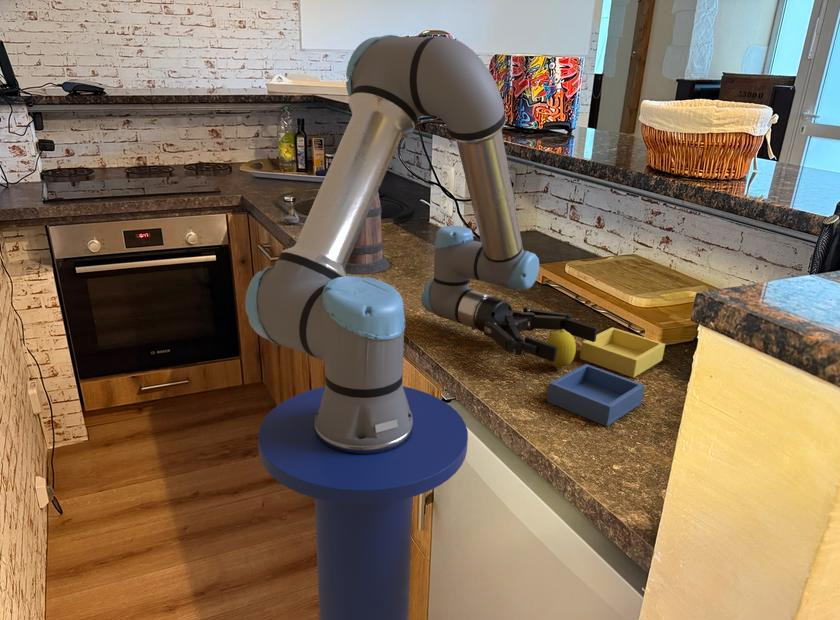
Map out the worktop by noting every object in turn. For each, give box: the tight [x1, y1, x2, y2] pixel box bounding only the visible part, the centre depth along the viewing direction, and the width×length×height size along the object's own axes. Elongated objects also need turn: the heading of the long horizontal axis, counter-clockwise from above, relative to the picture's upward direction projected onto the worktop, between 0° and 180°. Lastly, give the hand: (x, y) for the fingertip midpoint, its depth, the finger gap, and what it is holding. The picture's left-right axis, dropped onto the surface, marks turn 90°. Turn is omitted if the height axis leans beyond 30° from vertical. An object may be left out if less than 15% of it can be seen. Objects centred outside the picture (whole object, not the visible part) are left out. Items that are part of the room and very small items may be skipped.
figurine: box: [282, 205, 300, 226], centre depth 225 cm, size 5×4×6 cm
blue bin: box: [546, 363, 646, 427], centre depth 116 cm, size 12×12×4 cm
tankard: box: [345, 191, 391, 275], centre depth 185 cm, size 24×17×20 cm
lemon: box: [546, 329, 577, 370], centre depth 127 cm, size 6×6×8 cm
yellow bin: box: [579, 326, 666, 379], centre depth 133 cm, size 12×12×4 cm
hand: (576, 344), depth 124 cm, fingers open, 13 cm apart
